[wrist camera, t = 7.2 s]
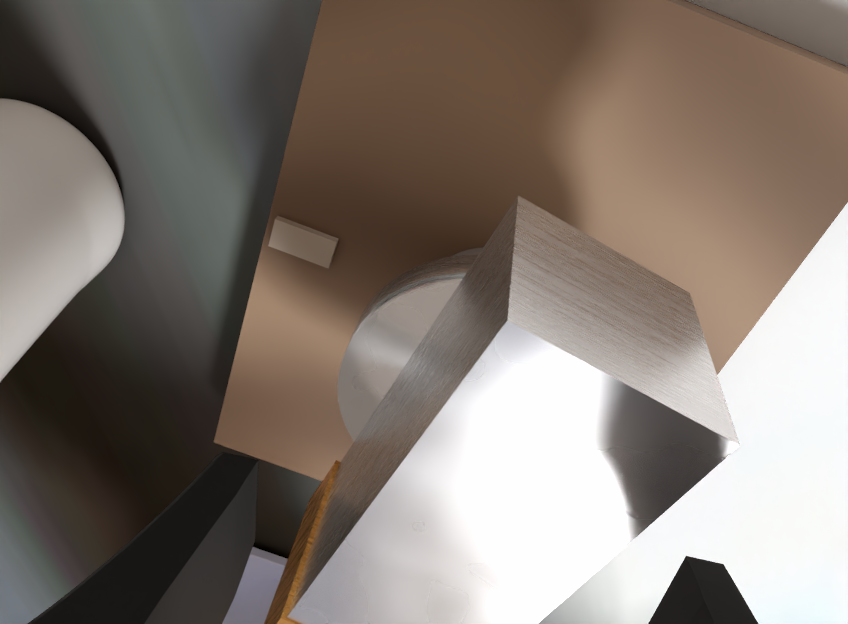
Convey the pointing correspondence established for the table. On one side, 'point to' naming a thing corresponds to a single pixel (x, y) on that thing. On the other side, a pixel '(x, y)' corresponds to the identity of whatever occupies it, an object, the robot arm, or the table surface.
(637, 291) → the grey and orange block
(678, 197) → the mount plate
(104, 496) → the table surface
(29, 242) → the drinking glass
